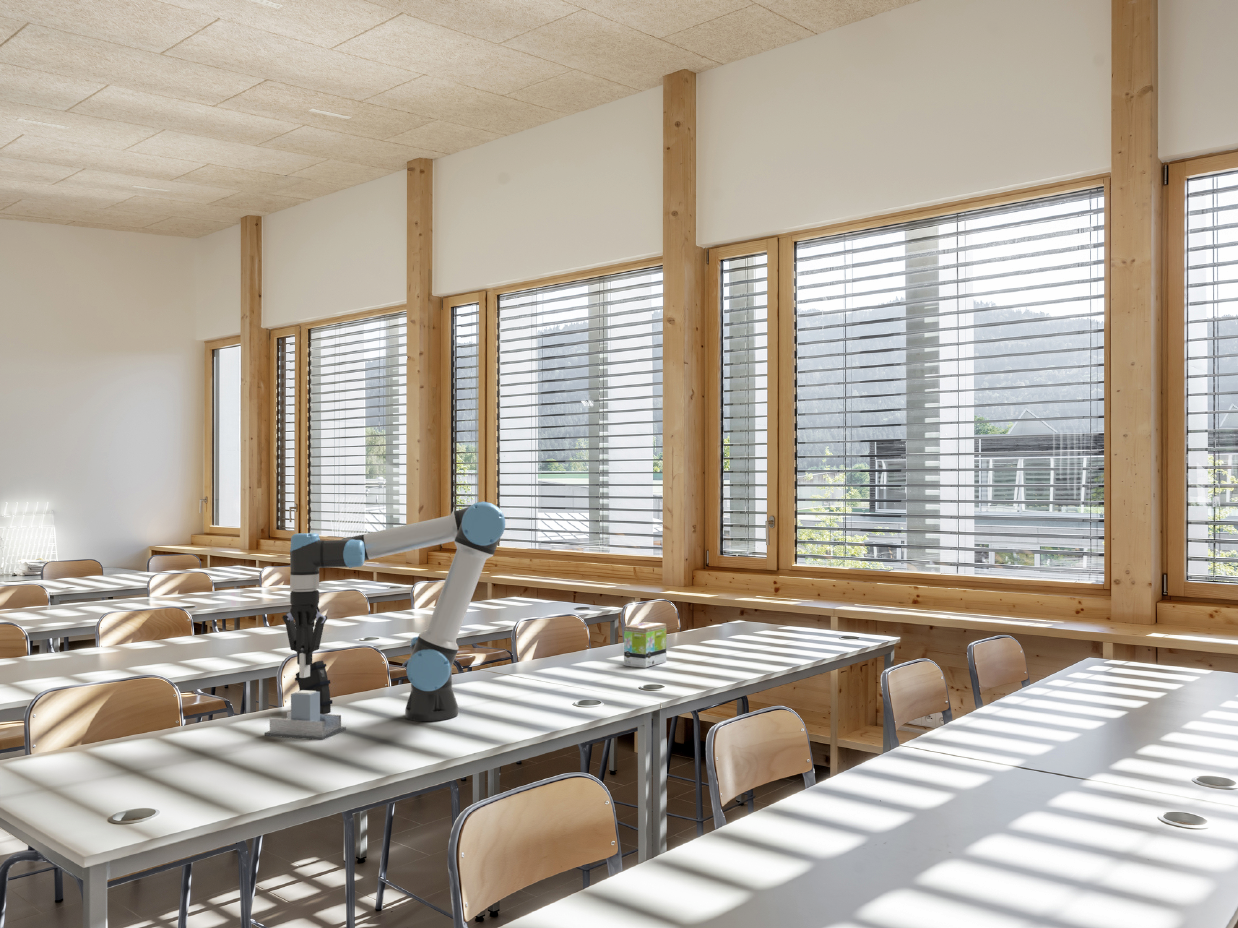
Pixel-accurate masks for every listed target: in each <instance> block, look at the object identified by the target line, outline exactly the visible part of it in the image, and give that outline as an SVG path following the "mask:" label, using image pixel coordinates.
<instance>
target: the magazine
mask: <svg viewBox="0 0 1238 928" xmlns="http://www.w3.org/2000/svg"><path fill="white" fill-rule="evenodd" d="M326 667H327V663H324V660H319V661H318V660H317V661H314V662H312V664H311V665H310V676H309V677H306V678H299V671H298V672H296V673H295V676H296V677H295V678H294V681H295V682H297V684H298V688H299V689H298V691H301V690H309V691H317V692H320V714H331V712H332V709H331V706H332V704H333V700H332V699H331V691H330V685H329V684H331V680H330V679H328V678H329V677H328V673H327V670H326Z"/></svg>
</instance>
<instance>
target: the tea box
mask: <svg viewBox="0 0 1238 928" xmlns="http://www.w3.org/2000/svg"><path fill="white" fill-rule="evenodd" d="M623 630H624V631H623V632H624V634H623V643H624V644H623V666H626V667H633V668H643V669H644V668H645V669H647V668H648V667H651V666H655V665H656V666H657V665H658V664H663V663H667V623H663V622H662V623H661V622H649V621H648V622H647V621H644V622H639V623H638V622H637V623H635V624H629V625H624V628H623Z"/></svg>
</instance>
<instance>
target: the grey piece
mask: <svg viewBox="0 0 1238 928" xmlns="http://www.w3.org/2000/svg"><path fill="white" fill-rule="evenodd" d="M346 730H347V727H346V726H342V715H341V714H332V713H326V714H320V721H311V720H296V719H291V711H287V712H286V718H280V717H278V718H277V717H270V718H269V731H265V732H264V735H266V736H265V737H275V736H282V737H281V738H289V737H292V738H291V739H302V738H309V739H308V740H315V741H316V740H317V741H323V740H325V738H326V739H328V738H330V737H333V736H335V735H338V734H340V733H341V732H344V731H346Z"/></svg>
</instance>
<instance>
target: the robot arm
mask: <svg viewBox="0 0 1238 928" xmlns="http://www.w3.org/2000/svg"><path fill="white" fill-rule="evenodd" d="M505 528H506V518H505V515H504V513H503V511H502V510H501V508H499V506H498V505H496V504H493V503H491V502H487V501H479V502H475V503H474V504H472V505H470V506H467V507H463V508H461V509H457V510H453V511H452V512H451V513H450V514H449V515H446V516H442V517H437V518H432V519H428V520H423V521H419V522H415V523H410V524H405V525H401V526H396V527H390V528H387V529H382V530H377V531H372V532H368V533H364V534H359V535H355V536H347V537H344V538H341V539H336V540H335V539H332V540H325V539H324V540H322V539H320V535H319V533H316V532H315V533H314V532H312V533H310V532H305V533H304V532H303V533H295V534H292V536H290V537H291V538H290V549H289V554H290V555H289V558H290V563H289V564H290V571H289V573H290V574H289V579H290V581H289V583H290V584H289V585H290V587H289V589H290V590H291V591H290V592H289V593H290V594H289V595H290V597H289V600H290V602H289V604H290V605H291V607H290V610H289V612H288V613H286V614H285V615H282V617H281V618H282V620H283V621H284V624H285V628H286V633H287V637H288V643H289V647H290V650H291V651H294V652H296V657H297V658H296V660H297V661H296V663H297V665H298V666H299V670H298V672H299V678H306V677H309V676H310V665H311V664H312V663H313V653H314V652H315V651H316V652H317V651H318V650H319V649H320V647H321V641H322V636H323V631H324V626H325V623H326V622H327V620H328V616H327V615H323V614H322V613H321V610H320V608H319V604H320V590H318V589H319V588H320V568H322V569H323V568H324V569H325V568H349V569H351V568H359V567H362V566H364V564H365V561H369V560H374V559H378V558H382V557H387V556H391V555H395V554H401V553H405V552H409V551H410V552H411V551H414V550H415V551H416V550H419V549H423V548H429V547H433V546H437V545H438V546H439V545H442V544H447V543H452V542H454V545H455V547H456V551H455V554H454V556H453V559H452V562H451V564H450V567H449V570H448V573H447V575H446V577H445V579H444V583H443V585H442V588H441V591H440V594H439V596H438V599H437V602H436V604H435V607H434V609H433V612H432V615H431V617H430V620H429V622H428V625H427V628H426V630H425V631H423V632H421V633H419V634H418V636H414V637H412V638H411V641H410V646H409V648H410V657H409V659H408V661H407V664H406V672H405V673H406V676H407V678H408V681H409V682H410V685H411V687H410V693H409V696H408V699H407V703H406V706H405V711H404V712H405V713H404V715H405V716H404V717H405V719H407V720H410V721H415V722H437V721H444V720H449V719H452V718H455V717H457V716H458V715H459V705H458V702H457V699H456V697H455V693H454V690H453V676H452V675H453V664H454V662H455V660H456V657H457V655H458V654H457V653H458V651H459V644H457V638H458V636H459V634H460V630H461V628H462V626H463V622H464V620H465V617H466V614H467V611H468V609H469V607H470V604H471V601H472V598H473V597H474V596H473V595H474V593H475V591H476V588H477V584H478V582H479V580H480V577H481V575H482V571H483V569H484V566H485V564H486V561H487V560H488V559H489V558H492V557H494V555H495V553H496V550H497V547H498V544H499V542H500V539H501V537H502V536H503V534H504V532H505Z"/></svg>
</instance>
